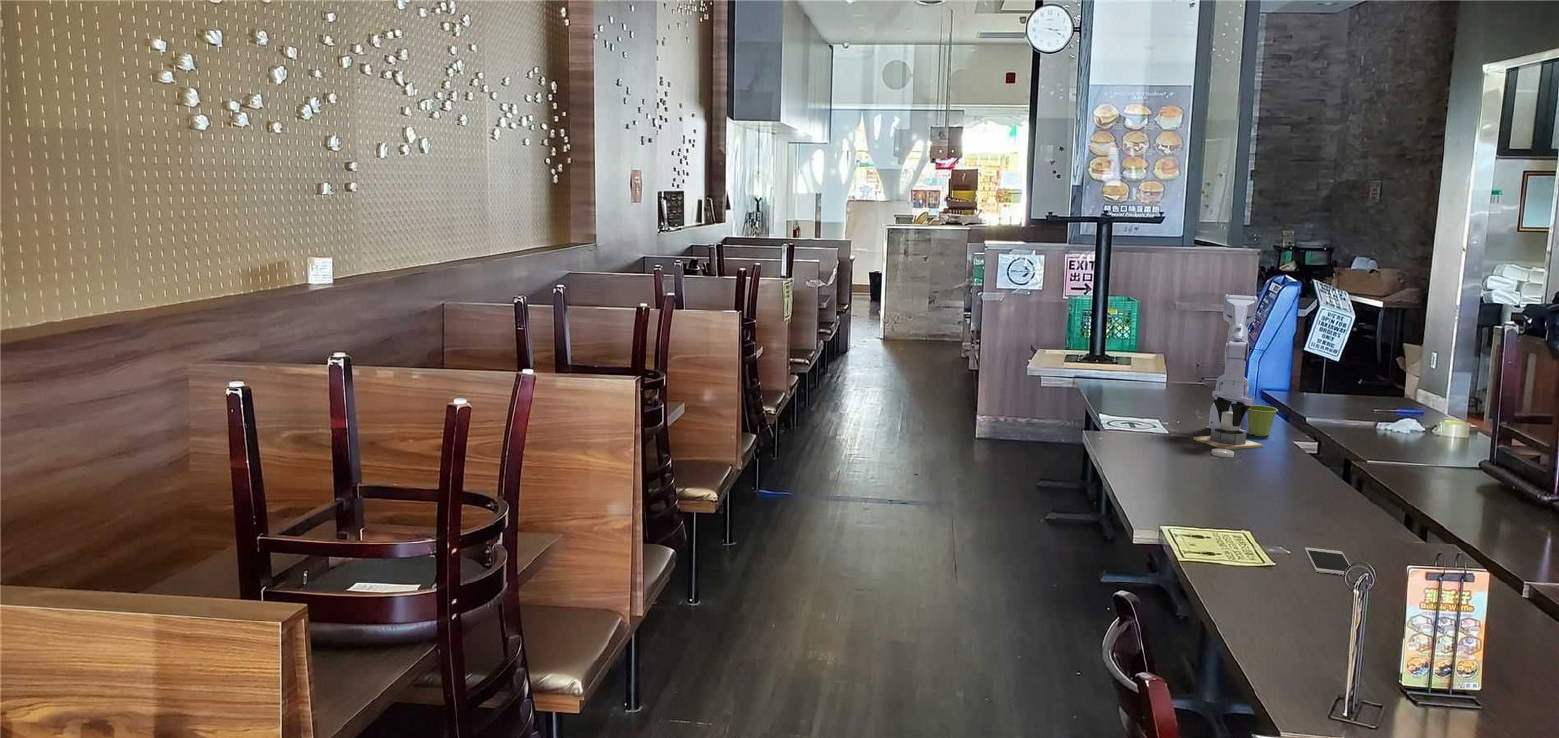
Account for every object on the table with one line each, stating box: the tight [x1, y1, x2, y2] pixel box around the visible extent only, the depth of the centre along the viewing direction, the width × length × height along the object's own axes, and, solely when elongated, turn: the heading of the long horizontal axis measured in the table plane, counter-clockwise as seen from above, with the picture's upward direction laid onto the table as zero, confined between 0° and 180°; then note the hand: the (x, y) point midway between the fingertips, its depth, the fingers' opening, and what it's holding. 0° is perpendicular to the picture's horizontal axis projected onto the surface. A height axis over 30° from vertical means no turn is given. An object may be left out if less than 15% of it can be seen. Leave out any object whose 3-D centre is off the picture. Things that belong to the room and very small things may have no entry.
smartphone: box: [1304, 547, 1351, 577], centre depth 215 cm, size 7×16×1 cm, turn 162°
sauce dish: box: [1211, 448, 1235, 459], centre depth 307 cm, size 6×6×2 cm
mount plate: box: [1192, 435, 1264, 451], centre depth 323 cm, size 14×14×1 cm
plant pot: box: [1246, 404, 1279, 437], centre depth 336 cm, size 9×9×9 cm
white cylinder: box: [1221, 411, 1238, 431], centre depth 322 cm, size 5×5×5 cm
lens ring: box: [1209, 428, 1248, 445], centre depth 322 cm, size 10×10×3 cm
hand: (1229, 424), depth 322 cm, fingers closed on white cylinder, 5 cm apart
